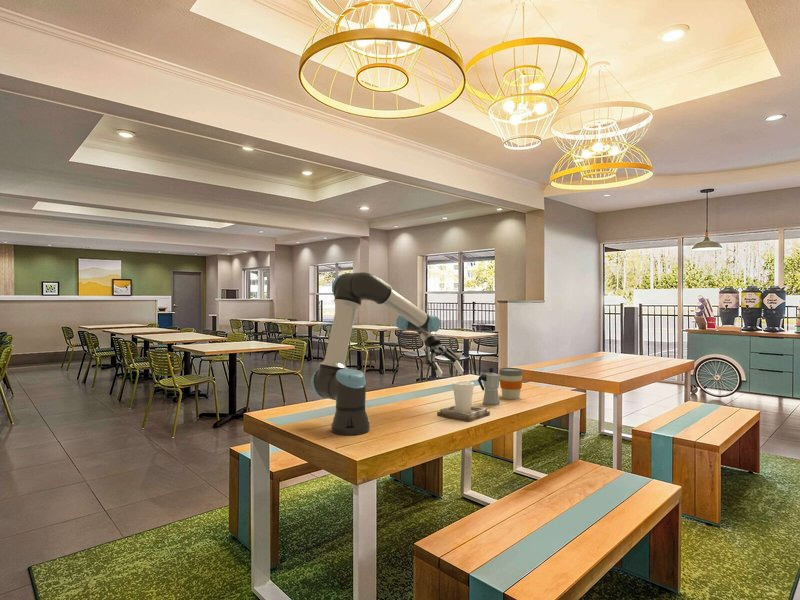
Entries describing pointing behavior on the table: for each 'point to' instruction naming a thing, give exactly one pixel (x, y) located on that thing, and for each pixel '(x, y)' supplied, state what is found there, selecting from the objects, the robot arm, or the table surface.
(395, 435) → the table surface
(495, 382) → the coffee maker
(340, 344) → the robot arm
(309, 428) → the table surface
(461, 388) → the foam cup
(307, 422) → the table surface
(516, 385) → the reusable coffee cup
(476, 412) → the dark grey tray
